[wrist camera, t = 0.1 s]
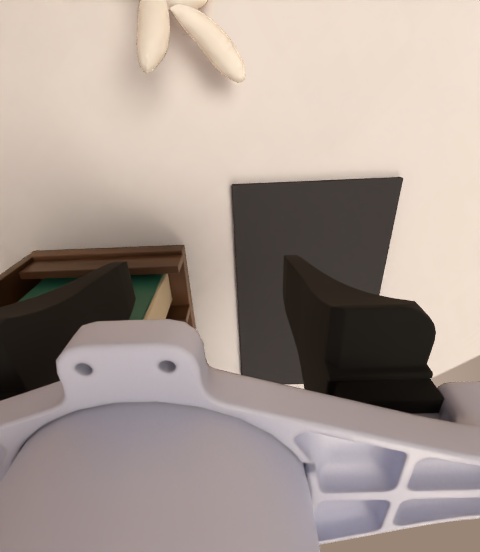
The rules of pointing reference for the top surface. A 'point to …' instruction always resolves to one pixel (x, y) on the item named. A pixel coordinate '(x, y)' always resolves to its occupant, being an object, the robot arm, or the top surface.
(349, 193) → the felt mat
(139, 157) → the top surface
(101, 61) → the top surface
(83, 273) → the book rack
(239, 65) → the rabbit figurine
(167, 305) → the green book
